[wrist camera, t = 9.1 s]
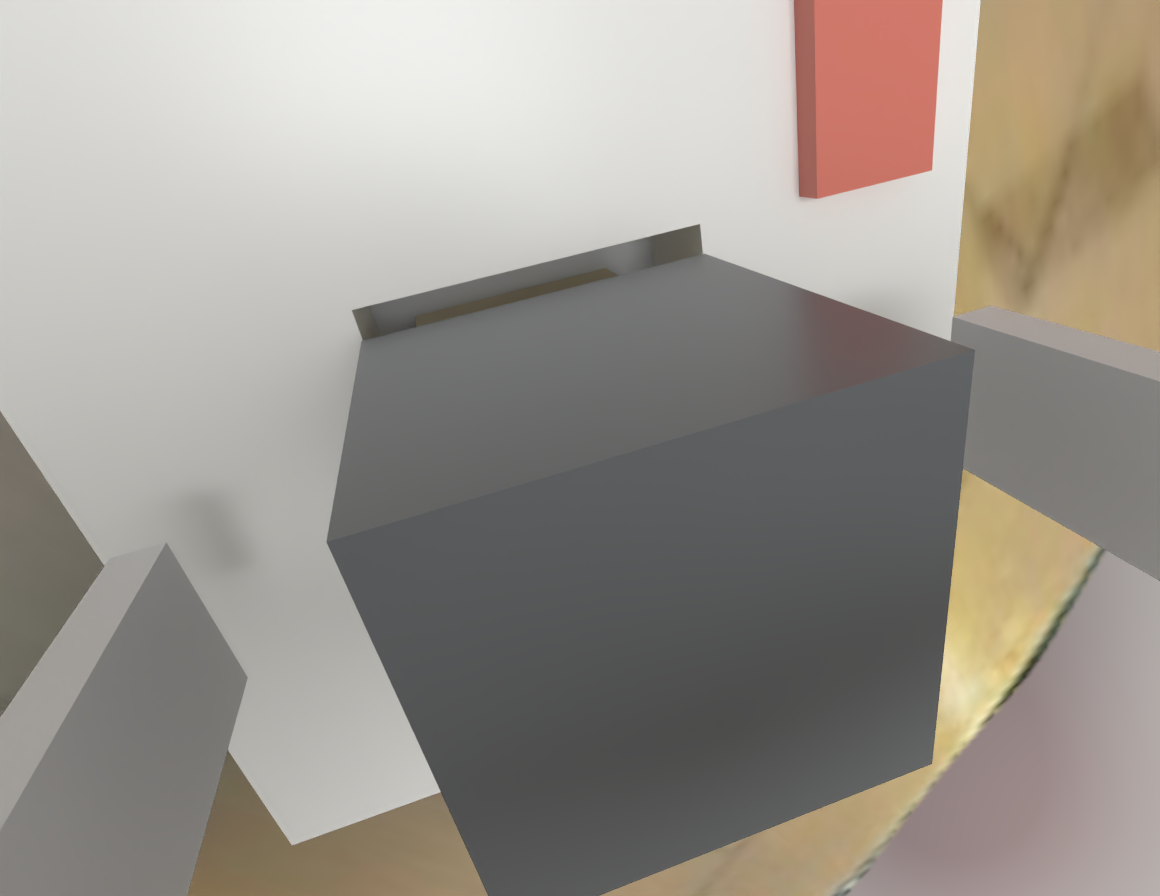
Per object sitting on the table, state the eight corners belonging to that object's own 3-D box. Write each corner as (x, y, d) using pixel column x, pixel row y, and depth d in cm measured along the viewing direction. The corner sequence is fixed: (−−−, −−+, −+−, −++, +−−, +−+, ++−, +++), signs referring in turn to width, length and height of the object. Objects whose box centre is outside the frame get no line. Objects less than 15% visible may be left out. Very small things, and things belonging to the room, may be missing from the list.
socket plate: (308, 732, 19) (288, 869, 15) (-103, 14, 11) (-352, -51, 7) (852, 549, 22) (943, 630, 18) (860, -147, 13) (1033, -255, 10)
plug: (448, 518, 17) (505, 932, 8) (369, 291, 14) (326, 541, 5) (664, 454, 18) (931, 764, 9) (631, 227, 15) (974, 350, 6)
